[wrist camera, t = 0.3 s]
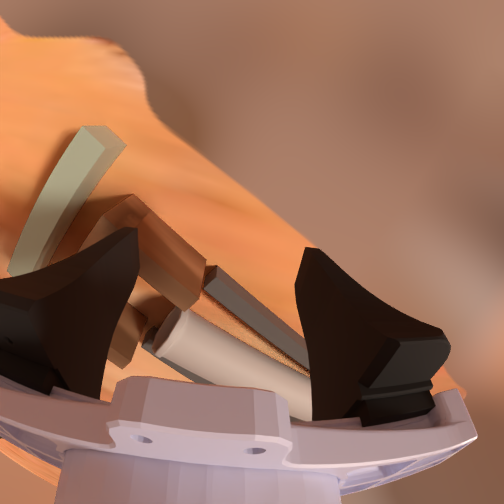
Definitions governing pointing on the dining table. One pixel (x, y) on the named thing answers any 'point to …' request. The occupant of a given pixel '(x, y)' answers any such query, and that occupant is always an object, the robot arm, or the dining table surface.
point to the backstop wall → (64, 196)
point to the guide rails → (251, 314)
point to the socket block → (150, 268)
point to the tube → (229, 360)
